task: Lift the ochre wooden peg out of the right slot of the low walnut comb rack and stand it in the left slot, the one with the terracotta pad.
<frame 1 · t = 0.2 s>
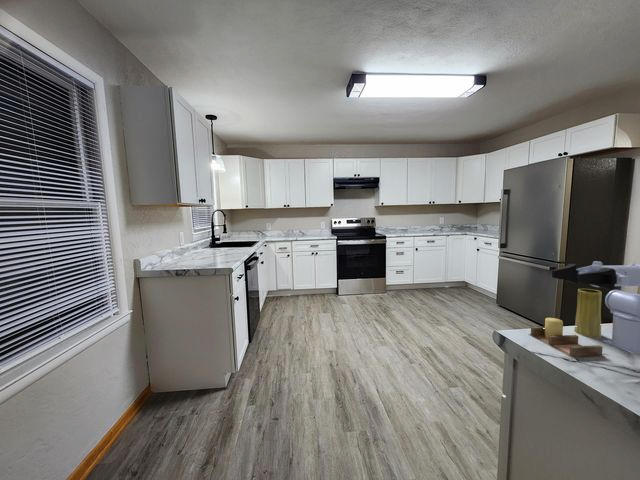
hand: (565, 276, 73), 21 cm above the countertop, tool horizontal, fingers open, 7 cm apart
vase: (587, 335, 84), on the countertop
peg: (553, 339, 80), resting on comb rack
comb rack: (563, 346, 77), on the countertop
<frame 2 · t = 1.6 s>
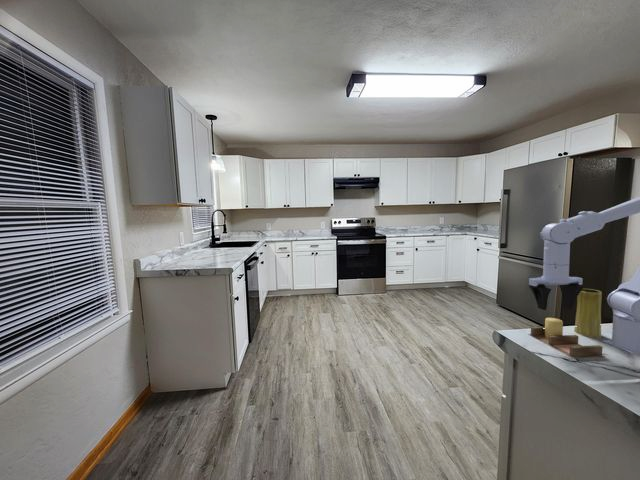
hand: (554, 308, 79), 10 cm above the countertop, tool pointing down, fingers open, 7 cm apart
nothing on the countertop moved.
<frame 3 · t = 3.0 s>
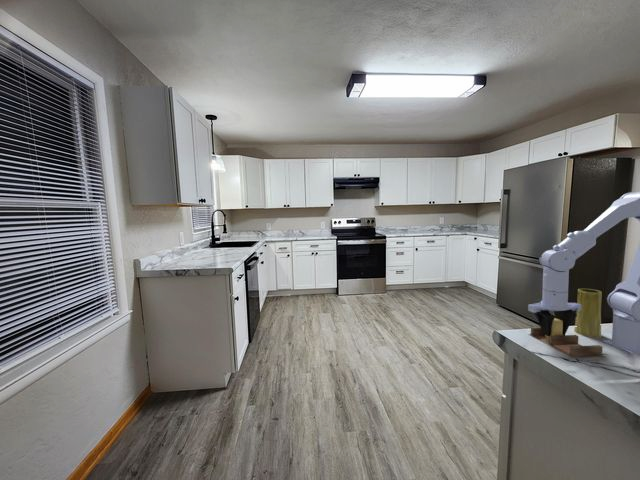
hand: (553, 334, 80), 2 cm above the countertop, tool pointing down, fingers closed on peg, 4 cm apart
peg: (553, 339, 80), point 1 cm above the countertop, touching comb rack, gripper
everything else where it was.
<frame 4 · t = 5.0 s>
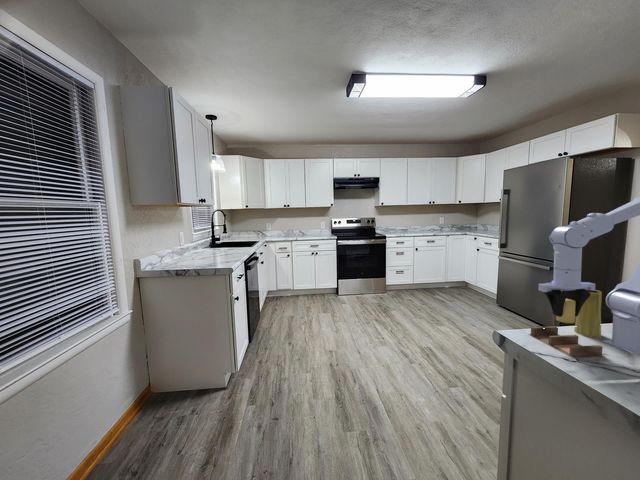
hand: (565, 315, 76), 9 cm above the countertop, tool pointing down, fingers closed on peg, 4 cm apart
peg: (565, 320, 76), point 8 cm above the countertop, touching gripper
everything else where it was.
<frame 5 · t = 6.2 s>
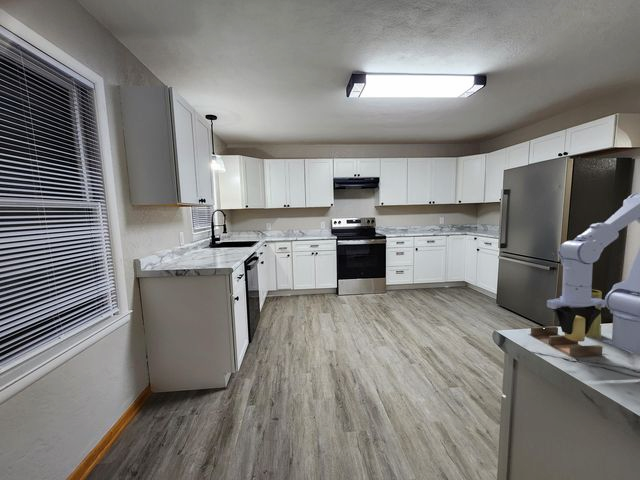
hand: (574, 332, 73), 5 cm above the countertop, tool pointing down, fingers closed on peg, 4 cm apart
peg: (574, 338, 73), point 4 cm above the countertop, touching gripper
everything else where it was.
when the fingers open (4 cm above the countertop, at t = 7.0 s): peg drops 1 cm, resting on comb rack.
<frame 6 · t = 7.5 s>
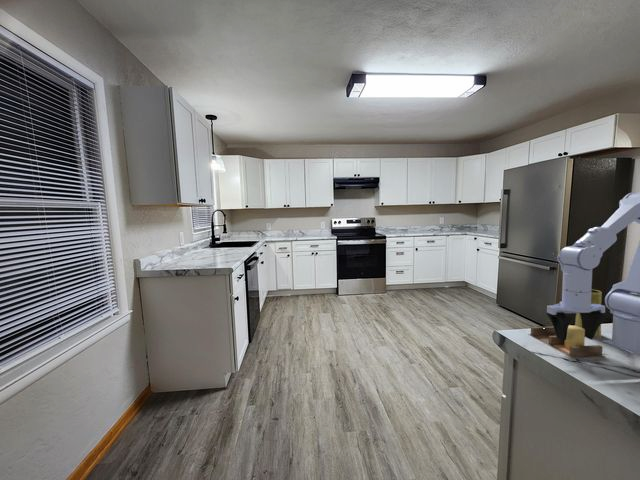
hand: (574, 338, 73), 4 cm above the countertop, tool pointing down, fingers open, 7 cm apart
peg: (574, 348, 74), point 1 cm above the countertop, touching comb rack
everything else where it was.
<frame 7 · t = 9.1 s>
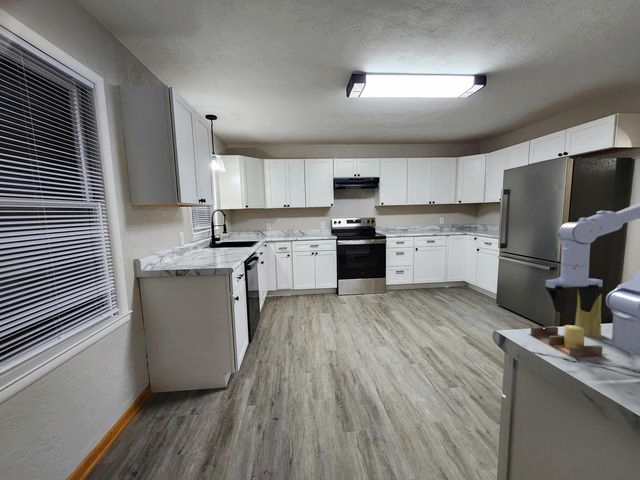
hand: (572, 311, 76), 10 cm above the countertop, tool pointing down, fingers open, 7 cm apart
nothing on the countertop moved.
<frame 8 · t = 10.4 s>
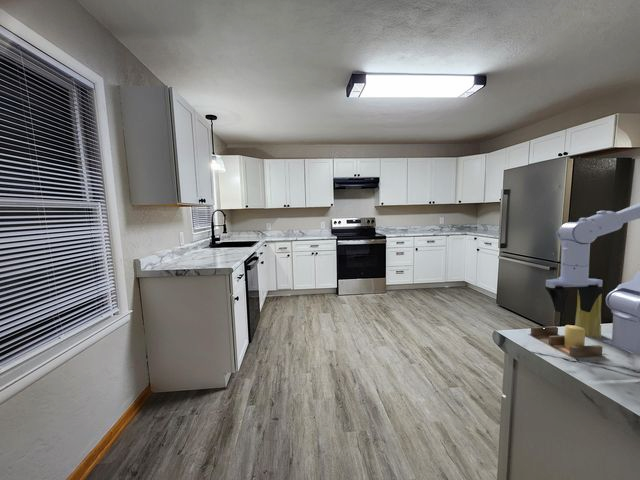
hand: (572, 311, 76), 10 cm above the countertop, tool pointing down, fingers open, 7 cm apart
nothing on the countertop moved.
at the end: peg 0.0 cm from the target spot, point 0.8 cm above the countertop; peg tilted 2°; the gripper is holding nothing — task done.
